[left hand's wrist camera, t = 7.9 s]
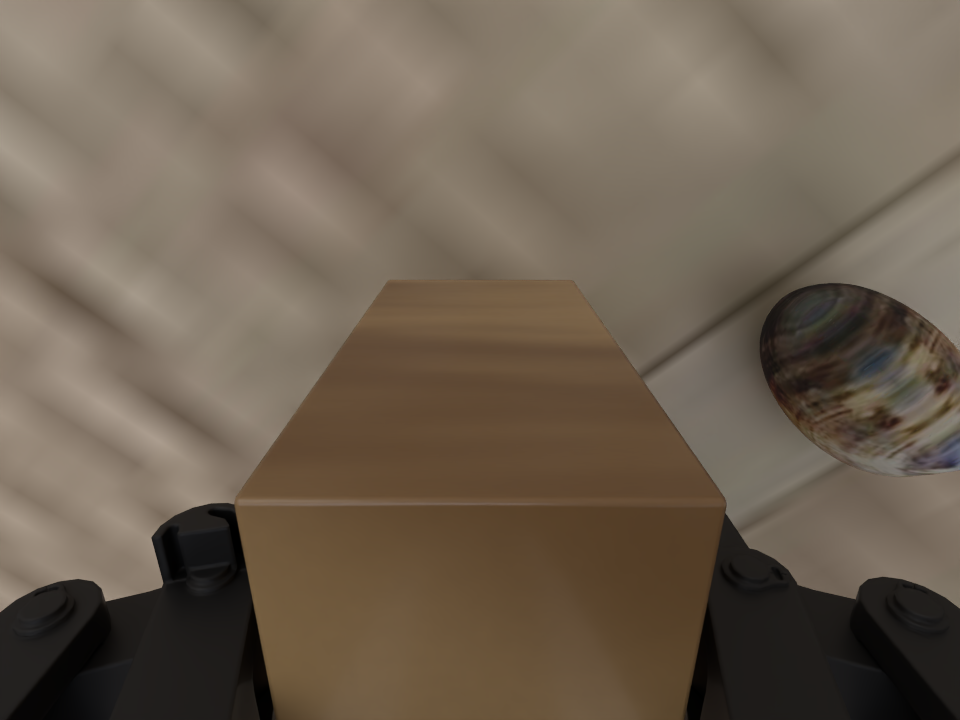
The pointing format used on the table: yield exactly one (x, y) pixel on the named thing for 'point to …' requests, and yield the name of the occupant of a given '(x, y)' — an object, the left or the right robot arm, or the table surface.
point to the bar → (480, 520)
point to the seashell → (865, 379)
